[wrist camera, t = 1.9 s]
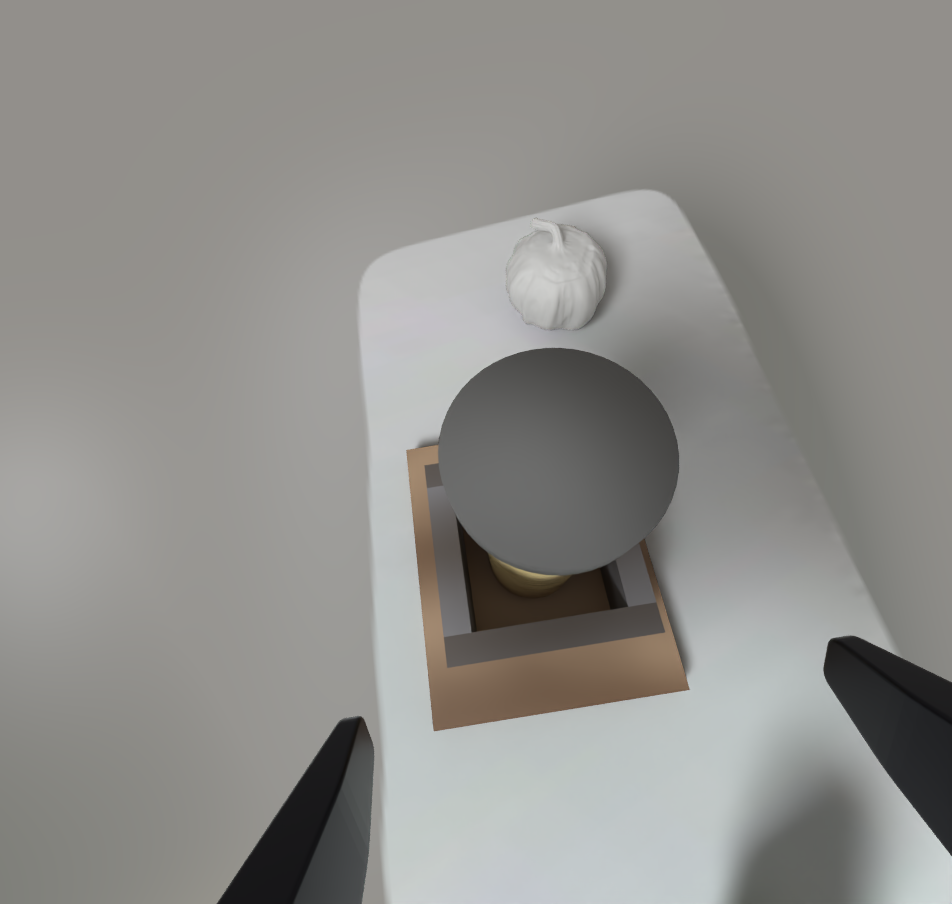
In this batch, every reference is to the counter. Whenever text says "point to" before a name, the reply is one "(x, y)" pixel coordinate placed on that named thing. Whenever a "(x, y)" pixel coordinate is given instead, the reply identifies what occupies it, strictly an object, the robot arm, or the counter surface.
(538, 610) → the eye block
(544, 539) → the grey-topped tan cylinder
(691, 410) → the counter surface
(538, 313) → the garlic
